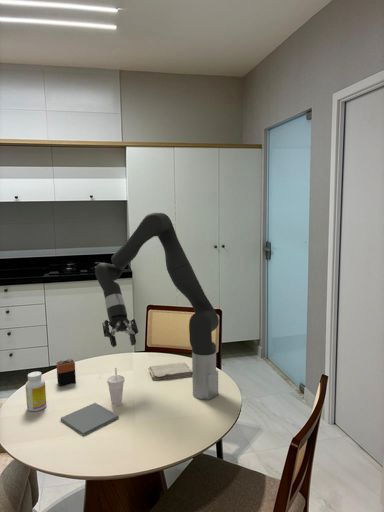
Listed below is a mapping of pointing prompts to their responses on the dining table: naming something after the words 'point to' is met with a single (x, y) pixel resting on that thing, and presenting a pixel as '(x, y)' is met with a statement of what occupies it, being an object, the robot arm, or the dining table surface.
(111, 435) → the dining table surface
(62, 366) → the battery
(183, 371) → the washcloth
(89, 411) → the coaster
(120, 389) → the smoothie
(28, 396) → the supplement bottle
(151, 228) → the robot arm
